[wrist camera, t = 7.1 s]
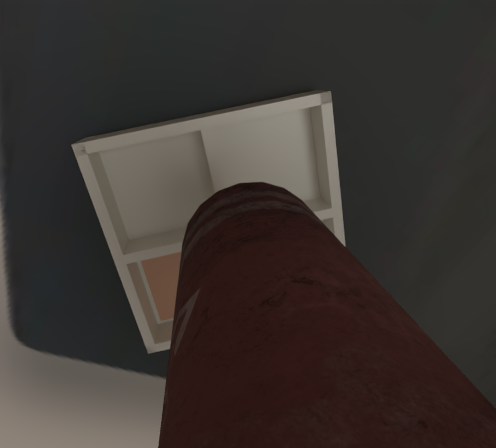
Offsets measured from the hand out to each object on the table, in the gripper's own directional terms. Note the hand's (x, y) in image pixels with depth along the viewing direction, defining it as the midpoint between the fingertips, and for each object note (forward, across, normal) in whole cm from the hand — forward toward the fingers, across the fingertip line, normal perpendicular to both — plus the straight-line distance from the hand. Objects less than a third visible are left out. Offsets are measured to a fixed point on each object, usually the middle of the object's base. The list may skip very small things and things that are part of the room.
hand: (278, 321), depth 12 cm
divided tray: (+20, +1, +4) cm, 21 cm away
